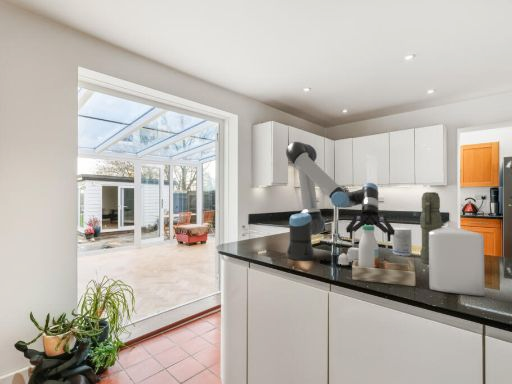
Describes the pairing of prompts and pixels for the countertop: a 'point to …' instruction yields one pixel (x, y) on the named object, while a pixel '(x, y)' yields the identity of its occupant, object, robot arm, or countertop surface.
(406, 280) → the wooden box
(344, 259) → the container set
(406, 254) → the supplement tub
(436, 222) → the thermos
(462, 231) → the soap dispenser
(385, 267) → the pusher
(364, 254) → the milk bottle
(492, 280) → the countertop surface
